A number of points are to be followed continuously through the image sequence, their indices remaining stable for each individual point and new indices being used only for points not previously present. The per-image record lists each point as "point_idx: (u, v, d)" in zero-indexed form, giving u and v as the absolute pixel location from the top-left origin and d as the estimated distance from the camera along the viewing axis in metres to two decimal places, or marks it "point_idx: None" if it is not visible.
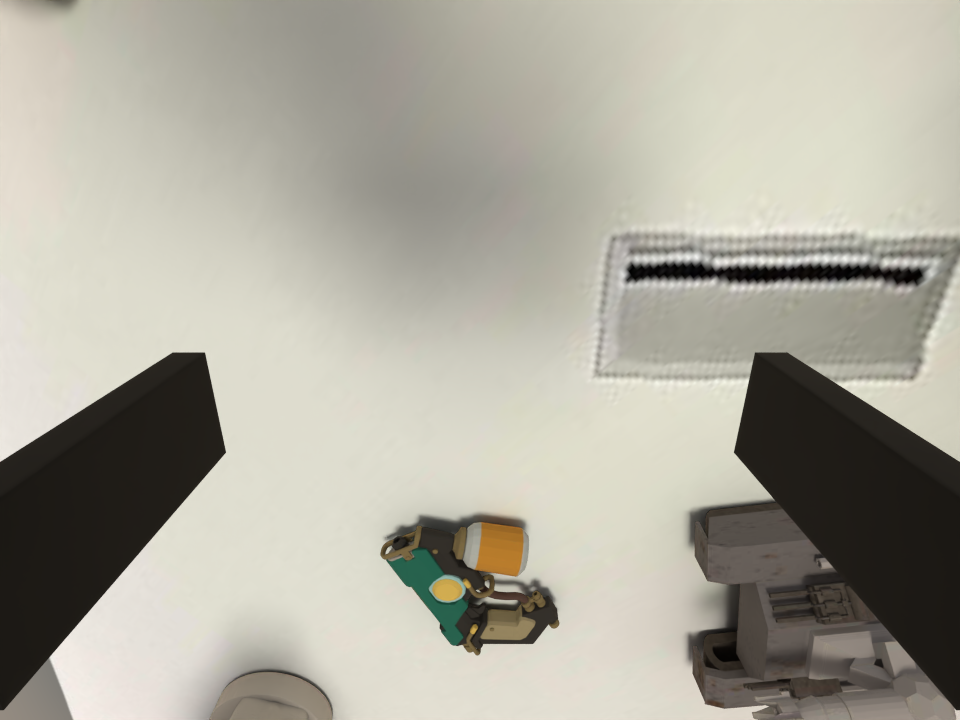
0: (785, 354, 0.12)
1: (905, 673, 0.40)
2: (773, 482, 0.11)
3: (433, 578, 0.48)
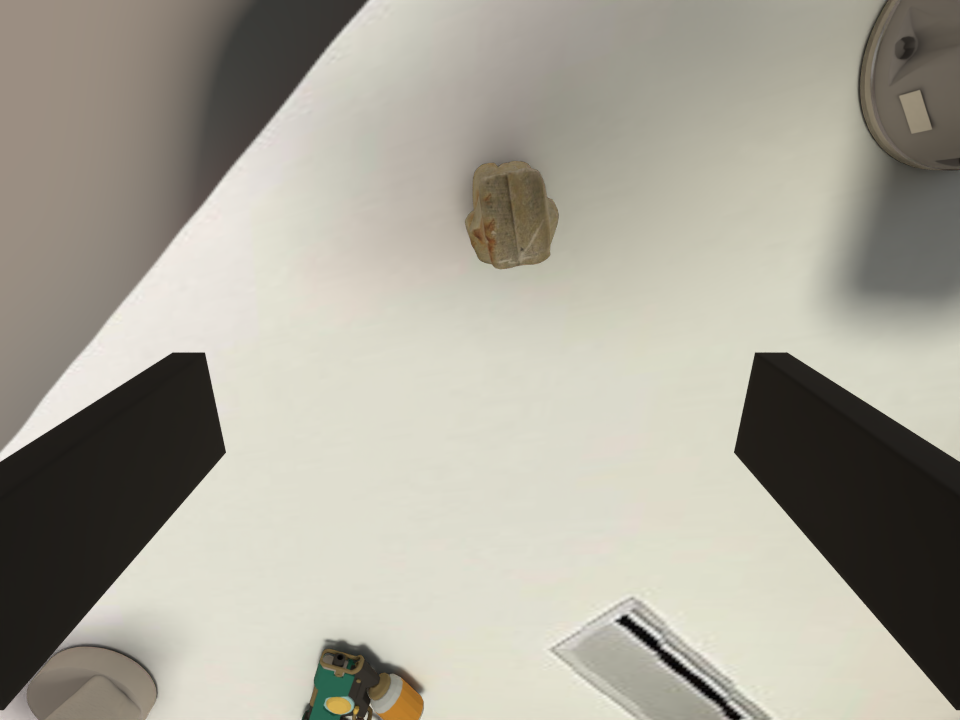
0: (785, 355, 0.12)
1: None
2: (773, 482, 0.11)
3: (339, 695, 0.57)
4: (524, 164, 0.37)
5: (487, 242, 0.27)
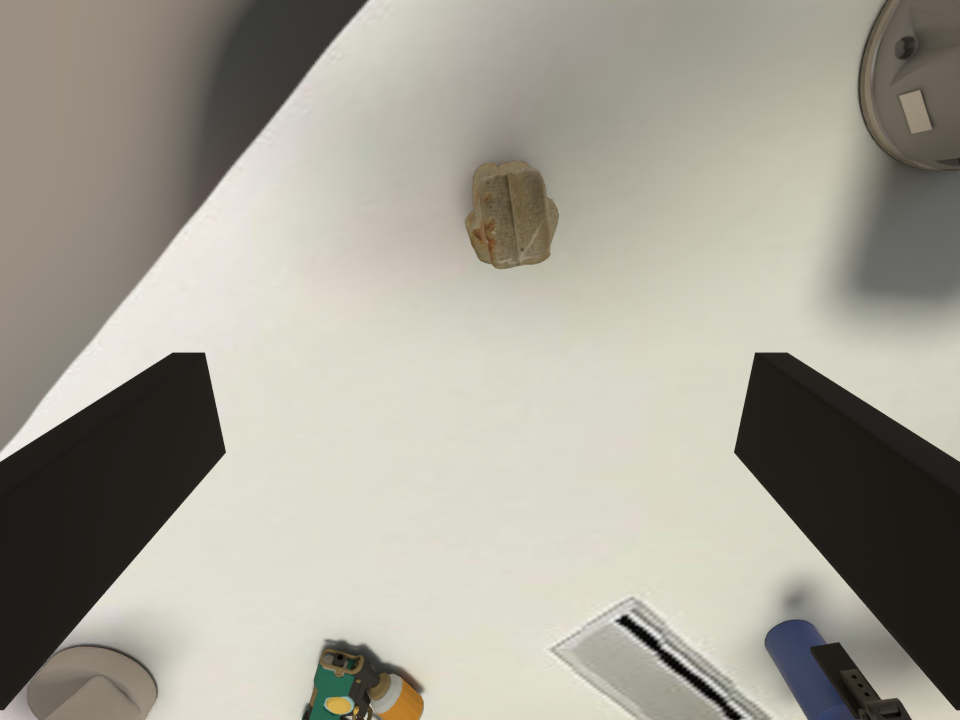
0: (785, 355, 0.12)
1: None
2: (773, 482, 0.11)
3: (339, 695, 0.57)
4: (524, 164, 0.37)
5: (487, 242, 0.27)
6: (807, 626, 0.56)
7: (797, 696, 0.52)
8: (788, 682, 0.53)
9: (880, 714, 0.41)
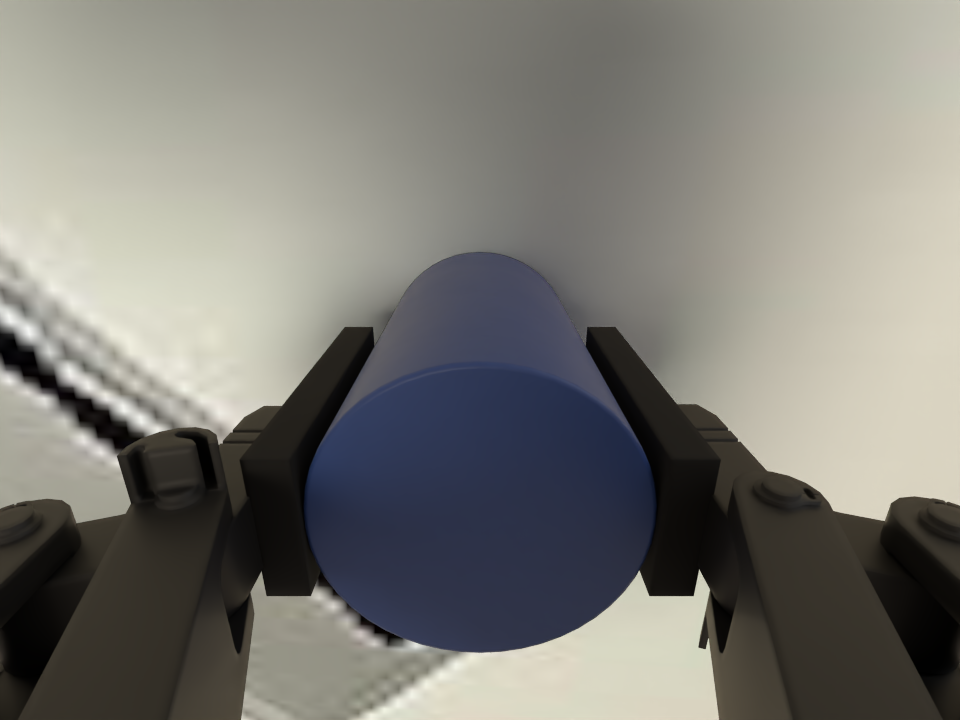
0: (614, 329, 0.14)
1: None
2: None
3: None
4: None
5: None
6: (505, 260, 0.15)
7: None
8: None
9: None
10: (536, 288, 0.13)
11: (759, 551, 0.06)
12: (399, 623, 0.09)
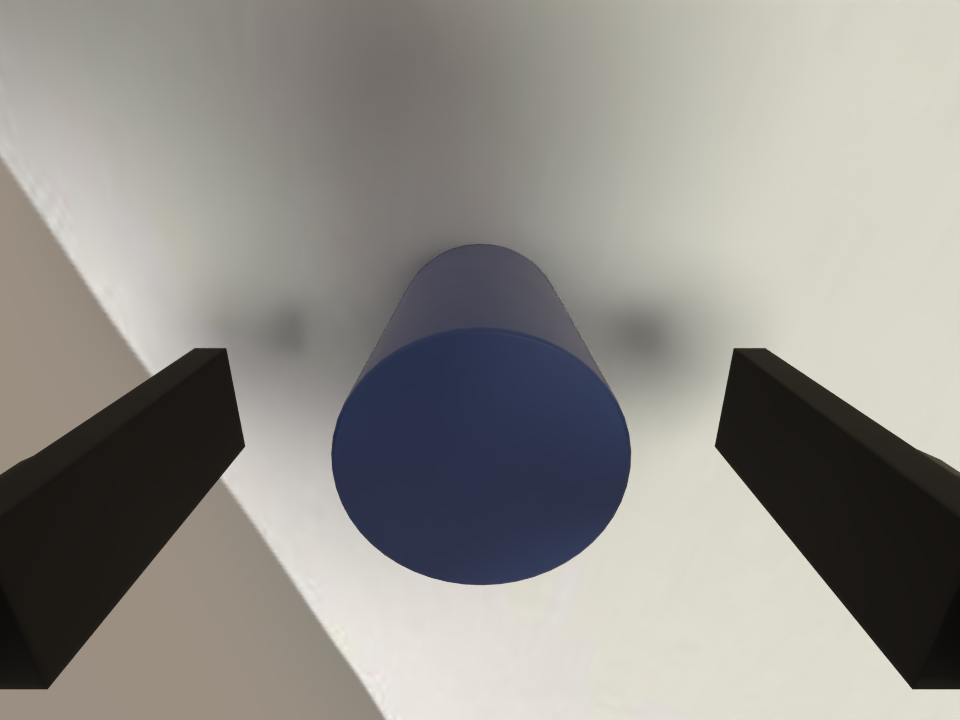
0: (764, 350, 0.12)
1: None
2: (749, 474, 0.12)
3: None
4: None
5: None
6: (504, 251, 0.17)
7: None
8: None
9: None
10: (531, 275, 0.15)
11: None
12: (411, 557, 0.11)
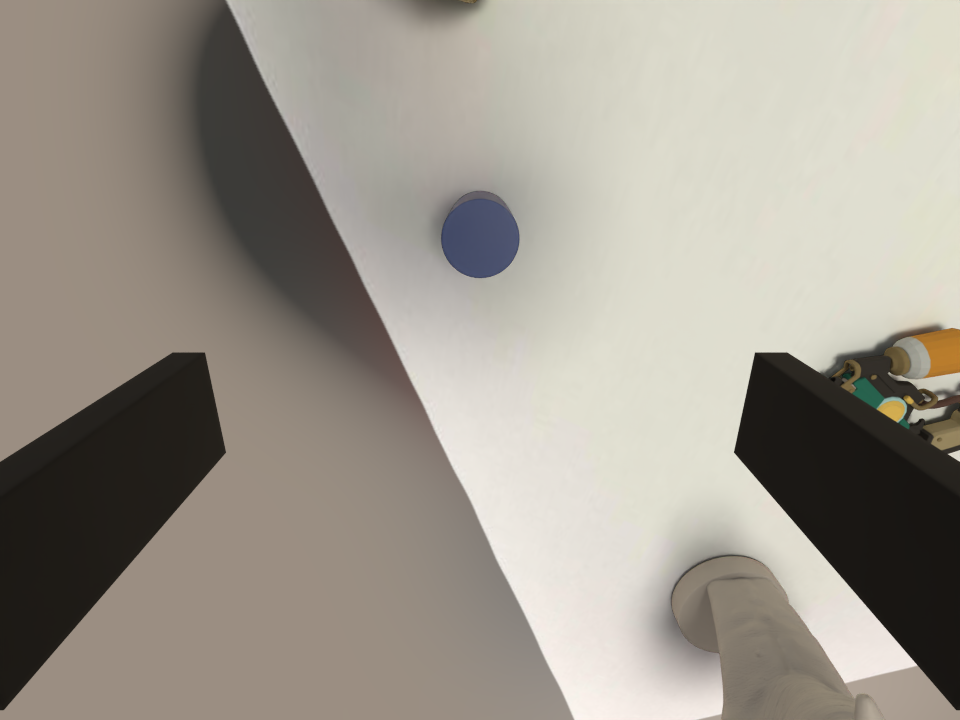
0: (785, 355, 0.12)
1: None
2: (773, 482, 0.11)
3: (876, 404, 0.50)
4: None
5: None
6: (489, 192, 0.45)
7: None
8: None
9: None
10: (497, 198, 0.43)
11: None
12: (461, 267, 0.39)
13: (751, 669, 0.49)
